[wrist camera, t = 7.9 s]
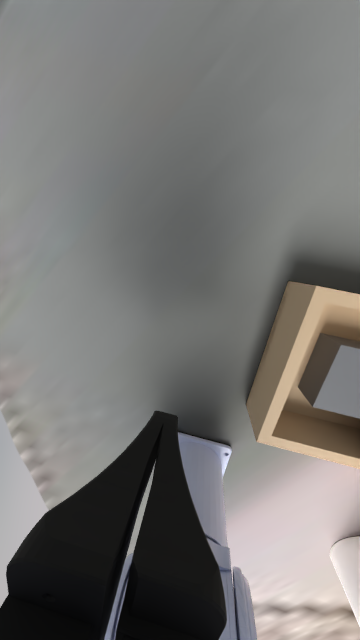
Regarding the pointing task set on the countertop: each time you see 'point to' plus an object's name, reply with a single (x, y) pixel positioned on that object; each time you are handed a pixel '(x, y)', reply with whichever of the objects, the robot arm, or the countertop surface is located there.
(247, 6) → the countertop surface
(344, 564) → the cylindrical container
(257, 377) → the mailer box
